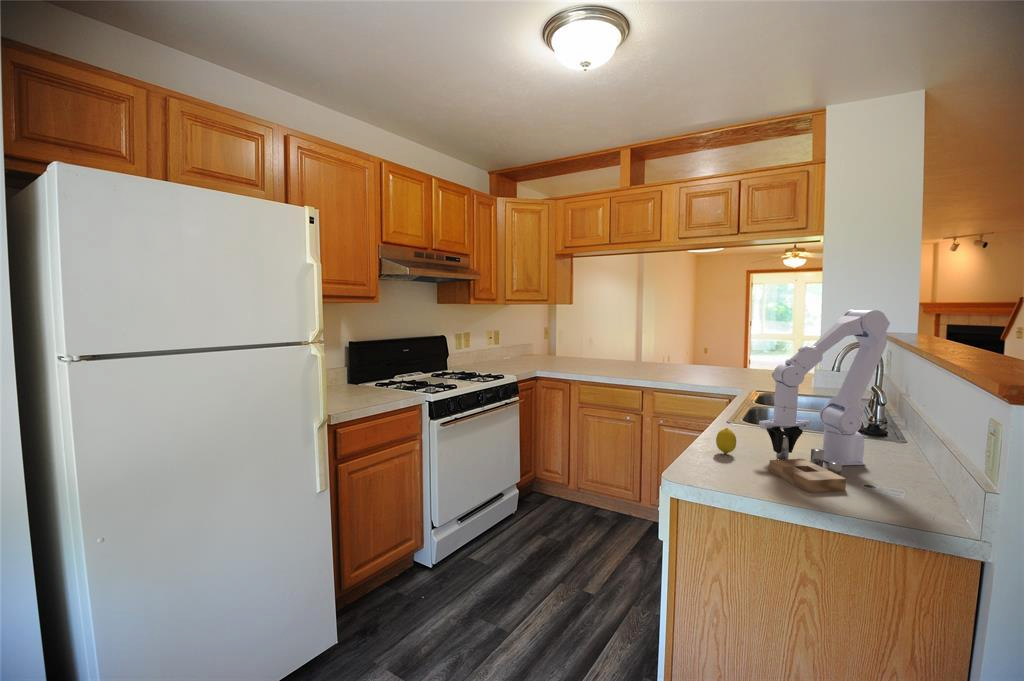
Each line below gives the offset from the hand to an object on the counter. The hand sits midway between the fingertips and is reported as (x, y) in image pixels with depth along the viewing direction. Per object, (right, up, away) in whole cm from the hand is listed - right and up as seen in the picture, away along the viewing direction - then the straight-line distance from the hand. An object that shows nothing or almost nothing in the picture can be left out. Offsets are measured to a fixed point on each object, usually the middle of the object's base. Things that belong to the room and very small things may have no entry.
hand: (782, 451), depth 134 cm
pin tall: (0, -2, 0) cm, 2 cm away
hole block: (-3, -4, -15) cm, 16 cm away
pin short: (+7, -3, -12) cm, 14 cm away
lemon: (-15, -2, +4) cm, 15 cm away
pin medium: (+6, -3, -6) cm, 9 cm away
